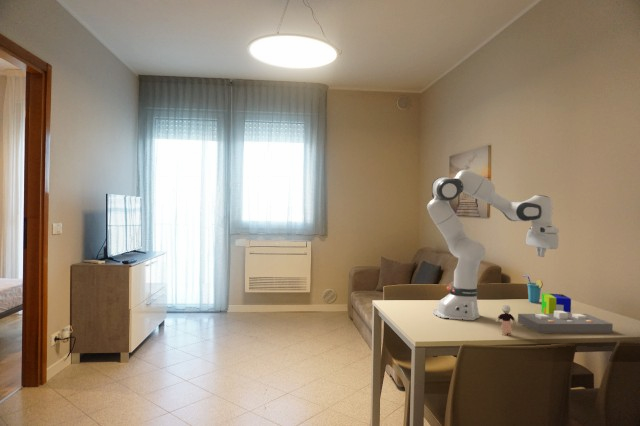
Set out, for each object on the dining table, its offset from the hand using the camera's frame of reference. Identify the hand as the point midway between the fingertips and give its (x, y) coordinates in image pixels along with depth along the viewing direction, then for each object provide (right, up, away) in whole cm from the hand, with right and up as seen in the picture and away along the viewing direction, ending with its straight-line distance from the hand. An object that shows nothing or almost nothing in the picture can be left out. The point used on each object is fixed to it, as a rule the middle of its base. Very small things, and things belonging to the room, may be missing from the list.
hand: (540, 256), depth 192 cm
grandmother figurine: (-28, -31, -23) cm, 48 cm away
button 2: (+13, -29, -9) cm, 33 cm away
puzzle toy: (+13, -32, +9) cm, 35 cm away
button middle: (+4, -28, -9) cm, 30 cm away
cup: (+16, -31, +37) cm, 51 cm away
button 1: (-5, -29, -10) cm, 31 cm away
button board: (+4, -31, -11) cm, 34 cm away
